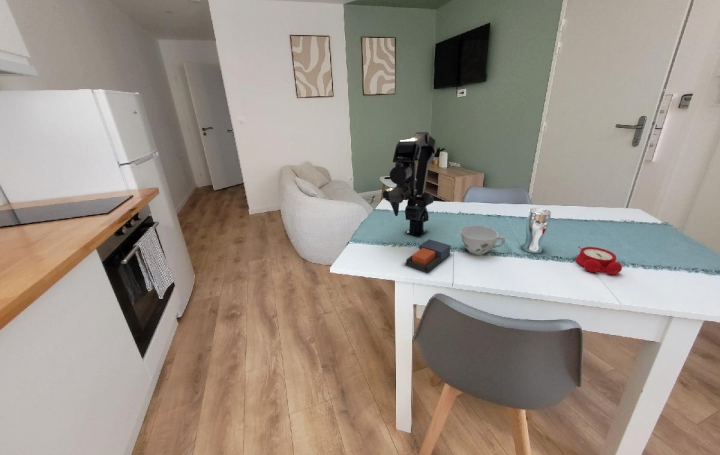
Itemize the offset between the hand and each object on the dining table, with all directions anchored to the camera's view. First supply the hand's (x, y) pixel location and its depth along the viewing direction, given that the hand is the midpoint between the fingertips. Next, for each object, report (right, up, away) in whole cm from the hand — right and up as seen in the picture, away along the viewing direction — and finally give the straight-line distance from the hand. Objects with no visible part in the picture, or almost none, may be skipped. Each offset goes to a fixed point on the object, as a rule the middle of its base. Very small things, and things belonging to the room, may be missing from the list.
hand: (406, 218), depth 109 cm
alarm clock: (+60, -16, -14) cm, 63 cm away
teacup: (+27, -13, -2) cm, 30 cm away
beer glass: (+46, -12, -2) cm, 48 cm away
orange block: (+5, -16, -8) cm, 18 cm away
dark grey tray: (+7, -15, -6) cm, 17 cm away
